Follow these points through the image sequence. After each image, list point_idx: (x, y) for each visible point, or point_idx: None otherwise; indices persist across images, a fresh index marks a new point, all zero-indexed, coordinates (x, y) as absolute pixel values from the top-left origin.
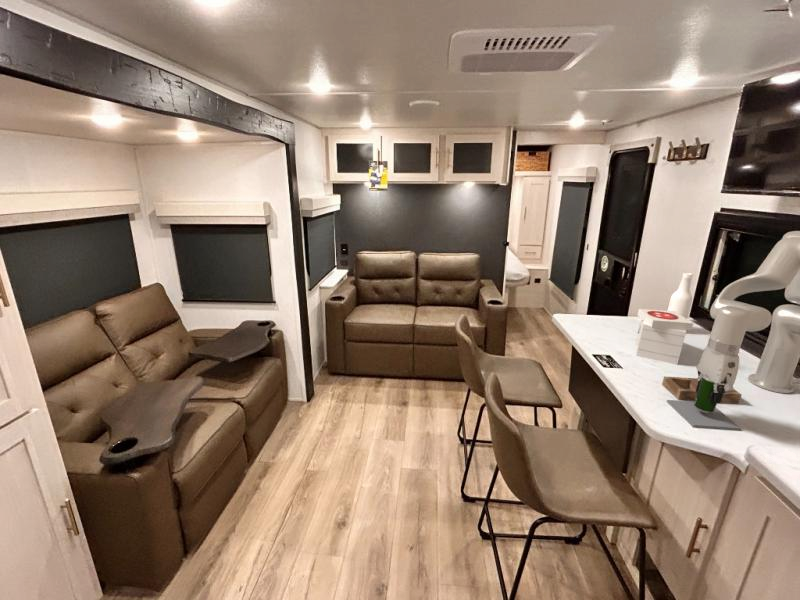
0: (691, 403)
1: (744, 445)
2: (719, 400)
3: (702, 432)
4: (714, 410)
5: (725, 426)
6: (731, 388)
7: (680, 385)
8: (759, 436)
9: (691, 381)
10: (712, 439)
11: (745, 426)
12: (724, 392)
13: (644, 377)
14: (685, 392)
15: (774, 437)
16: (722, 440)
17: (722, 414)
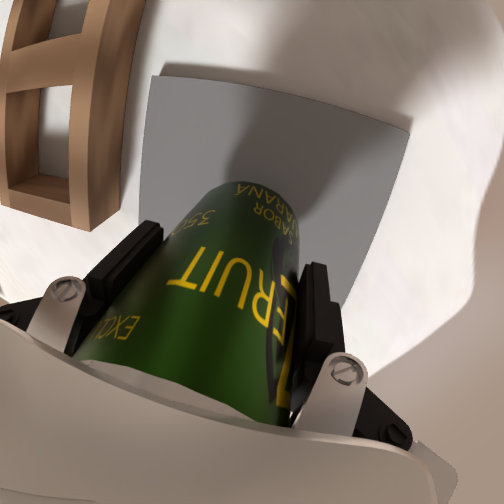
0: (160, 193)
1: (471, 235)
2: (337, 314)
3: (364, 318)
4: (291, 208)
5: (380, 206)
6: (442, 494)
7: (29, 126)
8: (454, 92)
9: (13, 91)
10: (405, 317)
11: (379, 65)
12: (373, 403)
13: (6, 216)
14: (93, 202)
15: (463, 33)
16: (423, 289)
17: (276, 104)
